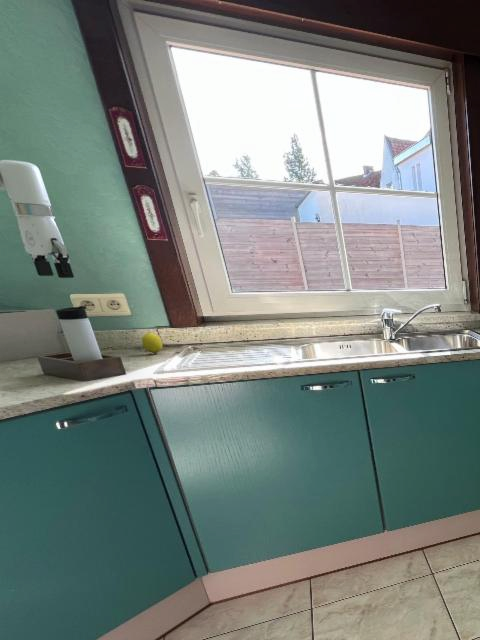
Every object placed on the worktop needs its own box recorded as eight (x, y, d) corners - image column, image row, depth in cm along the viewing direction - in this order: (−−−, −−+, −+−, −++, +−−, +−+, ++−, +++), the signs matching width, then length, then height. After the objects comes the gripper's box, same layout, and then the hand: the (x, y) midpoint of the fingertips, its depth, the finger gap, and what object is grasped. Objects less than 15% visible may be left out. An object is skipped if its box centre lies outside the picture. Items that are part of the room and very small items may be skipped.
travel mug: (112, 372, 154) (90, 306, 147) (85, 376, 149) (60, 308, 141) (102, 370, 156) (79, 305, 149) (75, 374, 151) (50, 307, 143)
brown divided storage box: (84, 381, 147) (77, 362, 144) (43, 374, 153) (36, 356, 151) (126, 374, 156) (120, 356, 154) (86, 367, 162) (80, 350, 160)
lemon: (149, 356, 181) (142, 334, 178) (143, 354, 184) (136, 332, 181) (167, 353, 185) (161, 332, 182) (161, 352, 188) (155, 331, 185)
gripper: (-3, 209, 136) (21, 275, 142) (34, 211, 130) (57, 278, 137) (34, 212, 142) (55, 274, 148) (70, 213, 137) (91, 278, 143)
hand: (56, 276), depth 143 cm, fingers open, 9 cm apart
